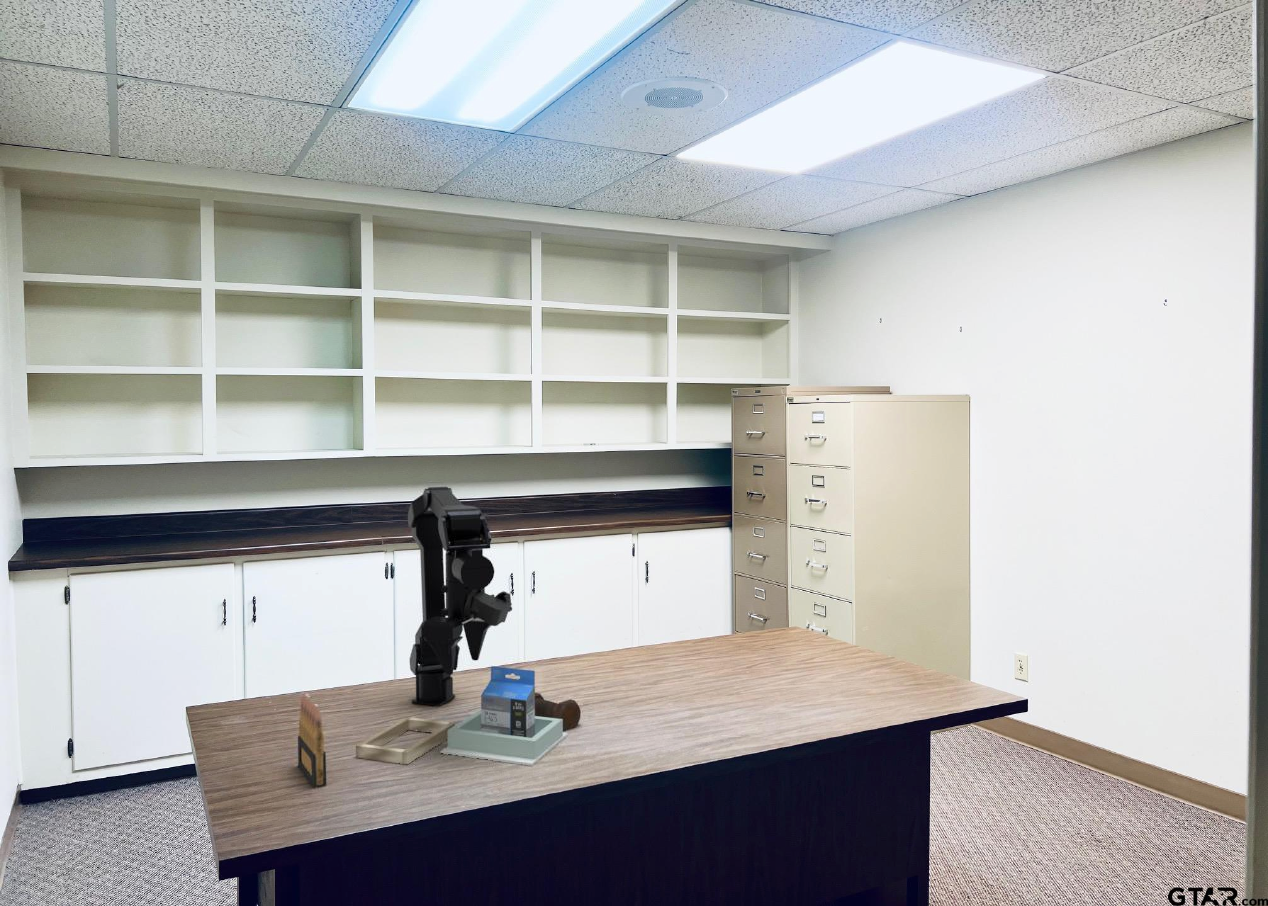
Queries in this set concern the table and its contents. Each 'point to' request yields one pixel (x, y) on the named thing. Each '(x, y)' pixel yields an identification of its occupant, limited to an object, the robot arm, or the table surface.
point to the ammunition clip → (311, 743)
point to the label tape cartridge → (509, 703)
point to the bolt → (558, 711)
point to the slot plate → (504, 741)
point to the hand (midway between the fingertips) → (462, 667)
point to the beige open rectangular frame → (374, 744)
